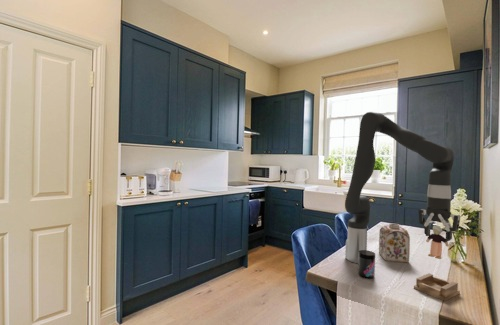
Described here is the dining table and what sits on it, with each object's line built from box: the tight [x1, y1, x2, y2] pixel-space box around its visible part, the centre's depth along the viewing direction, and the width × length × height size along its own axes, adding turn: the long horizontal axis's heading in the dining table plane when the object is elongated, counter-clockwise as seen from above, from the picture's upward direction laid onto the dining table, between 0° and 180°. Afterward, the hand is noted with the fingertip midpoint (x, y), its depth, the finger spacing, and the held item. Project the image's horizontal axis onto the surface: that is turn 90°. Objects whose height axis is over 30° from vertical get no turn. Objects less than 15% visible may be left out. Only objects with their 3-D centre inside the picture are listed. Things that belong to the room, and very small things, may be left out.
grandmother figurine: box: [426, 225, 450, 260], centre depth 104 cm, size 8×4×13 cm, turn 45°
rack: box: [413, 273, 461, 302], centre depth 104 cm, size 11×12×4 cm
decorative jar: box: [378, 222, 411, 263], centre depth 139 cm, size 12×12×18 cm
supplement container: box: [357, 249, 376, 280], centre depth 116 cm, size 7×7×10 cm
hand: (437, 238), depth 104 cm, fingers closed on grandmother figurine, 6 cm apart
